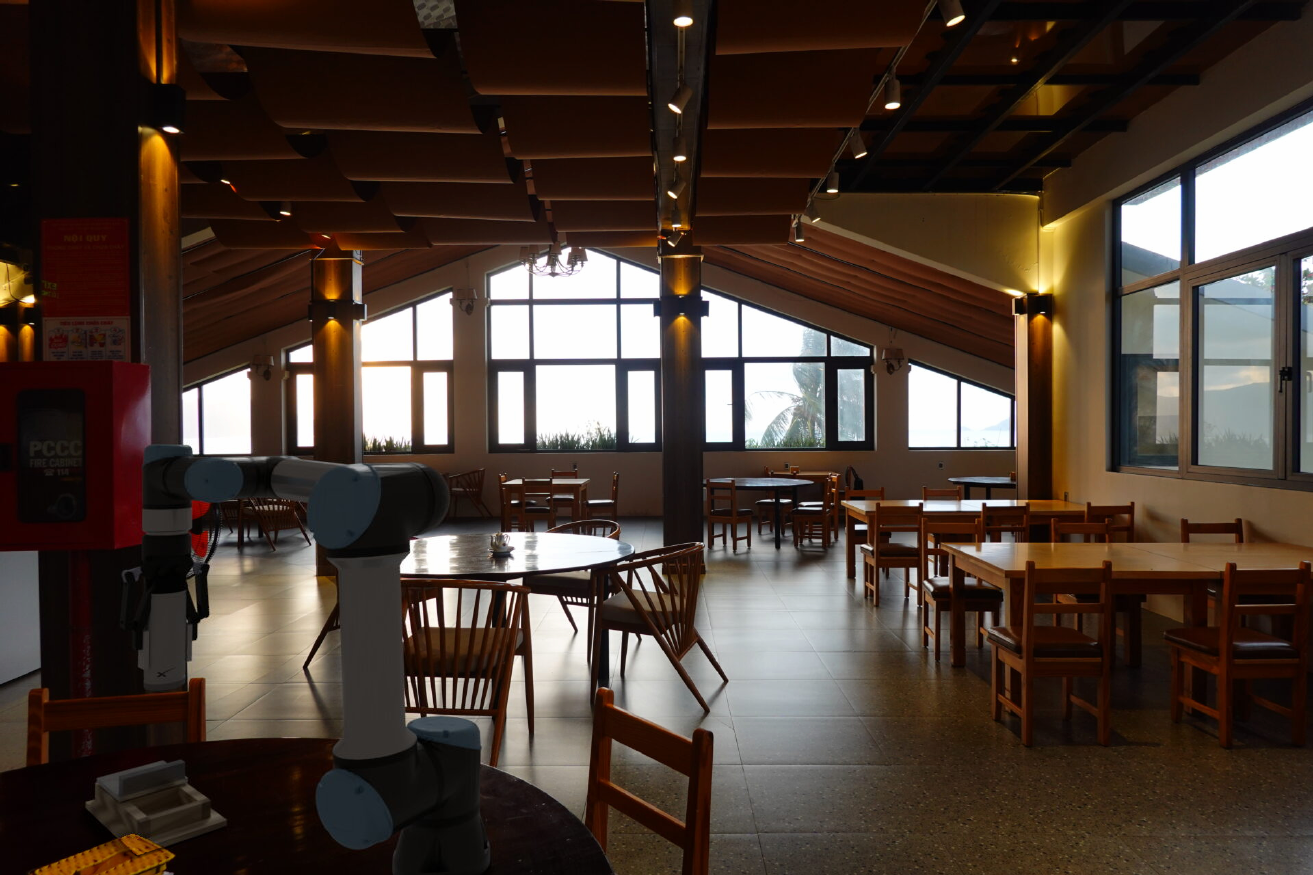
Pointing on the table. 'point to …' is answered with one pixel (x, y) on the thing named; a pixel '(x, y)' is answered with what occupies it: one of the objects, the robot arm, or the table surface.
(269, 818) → the table surface
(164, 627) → the travel mug
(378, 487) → the robot arm
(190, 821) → the holder
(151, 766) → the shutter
